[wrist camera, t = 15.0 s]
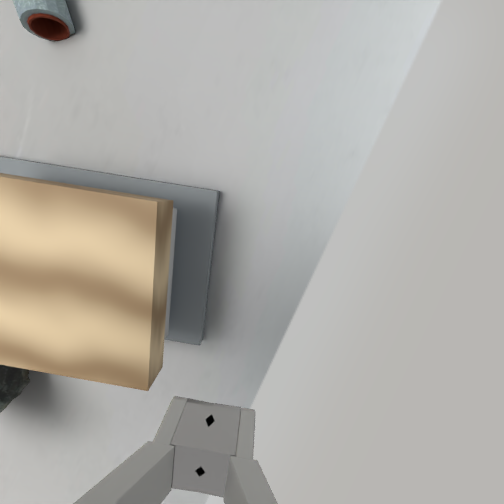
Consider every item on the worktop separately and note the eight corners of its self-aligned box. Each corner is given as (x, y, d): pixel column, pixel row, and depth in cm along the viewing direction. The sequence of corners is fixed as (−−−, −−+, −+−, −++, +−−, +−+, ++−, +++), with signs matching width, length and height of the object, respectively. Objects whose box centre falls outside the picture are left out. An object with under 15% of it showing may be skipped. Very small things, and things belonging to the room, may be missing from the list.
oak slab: (162, 366, 20) (147, 390, 18) (-19, 334, 20) (-57, 354, 18) (173, 200, 16) (157, 201, 14) (-45, 165, 17) (-98, 160, 14)
